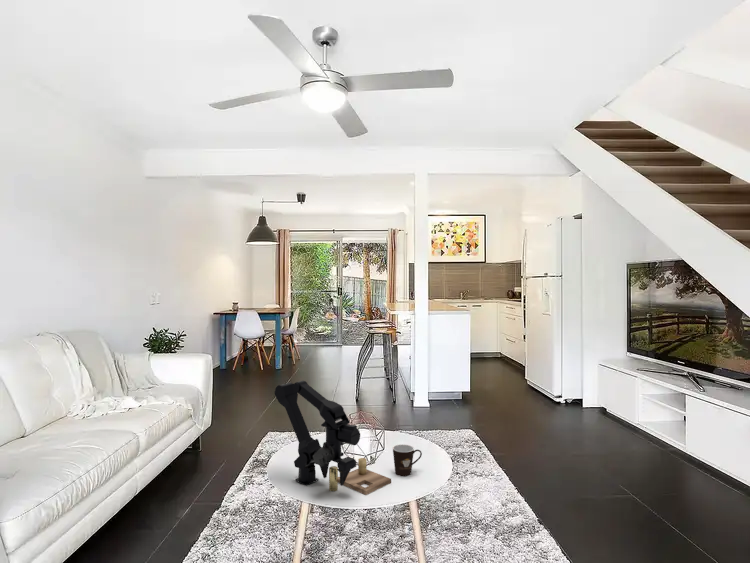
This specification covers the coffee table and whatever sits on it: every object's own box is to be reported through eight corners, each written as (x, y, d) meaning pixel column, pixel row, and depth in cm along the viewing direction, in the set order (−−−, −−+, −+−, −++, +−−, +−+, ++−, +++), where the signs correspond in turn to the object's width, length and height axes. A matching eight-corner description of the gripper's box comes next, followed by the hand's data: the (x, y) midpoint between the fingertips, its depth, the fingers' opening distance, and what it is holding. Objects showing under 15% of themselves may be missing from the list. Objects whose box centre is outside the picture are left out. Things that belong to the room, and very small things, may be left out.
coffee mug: (391, 476, 183) (391, 451, 183) (393, 468, 191) (393, 443, 191) (420, 478, 181) (421, 453, 181) (421, 469, 190) (421, 445, 190)
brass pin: (327, 489, 171) (327, 468, 171) (333, 486, 174) (333, 465, 174) (333, 492, 169) (333, 470, 169) (339, 489, 172) (339, 467, 172)
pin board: (335, 481, 178) (336, 463, 178) (361, 470, 188) (361, 453, 188) (366, 495, 167) (366, 475, 167) (391, 482, 178) (391, 464, 178)
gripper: (300, 439, 172) (300, 480, 172) (334, 451, 159) (334, 497, 159) (323, 431, 180) (322, 471, 180) (357, 443, 168) (357, 486, 168)
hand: (333, 481), depth 172 cm, fingers open, 9 cm apart
